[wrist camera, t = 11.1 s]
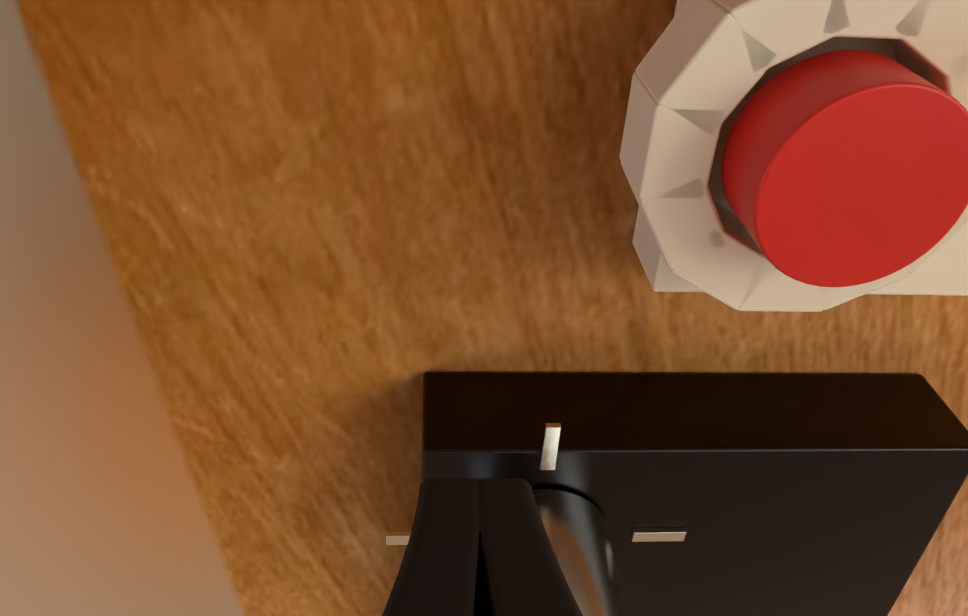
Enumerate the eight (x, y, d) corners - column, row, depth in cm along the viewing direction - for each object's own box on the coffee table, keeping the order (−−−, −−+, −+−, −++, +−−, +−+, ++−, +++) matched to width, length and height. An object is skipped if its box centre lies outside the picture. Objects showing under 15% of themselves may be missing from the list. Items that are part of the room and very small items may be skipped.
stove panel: (394, 635, 27) (390, 725, 25) (388, 343, 20) (383, 427, 18) (801, 626, 29) (838, 711, 26) (934, 347, 21) (1004, 426, 19)
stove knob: (595, 578, 21) (628, 738, 18) (464, 579, 21) (472, 742, 18) (616, 487, 19) (659, 646, 16) (472, 487, 19) (482, 650, 16)
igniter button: (701, 237, 15) (731, 287, 13) (748, 43, 13) (788, 78, 11) (883, 240, 15) (930, 290, 14) (957, 52, 13) (1022, 87, 12)
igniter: (580, 242, 19) (612, 341, 16) (634, -138, 14) (696, -110, 11) (1018, 250, 20) (1136, 345, 16) (1198, -104, 15) (1410, -70, 12)
